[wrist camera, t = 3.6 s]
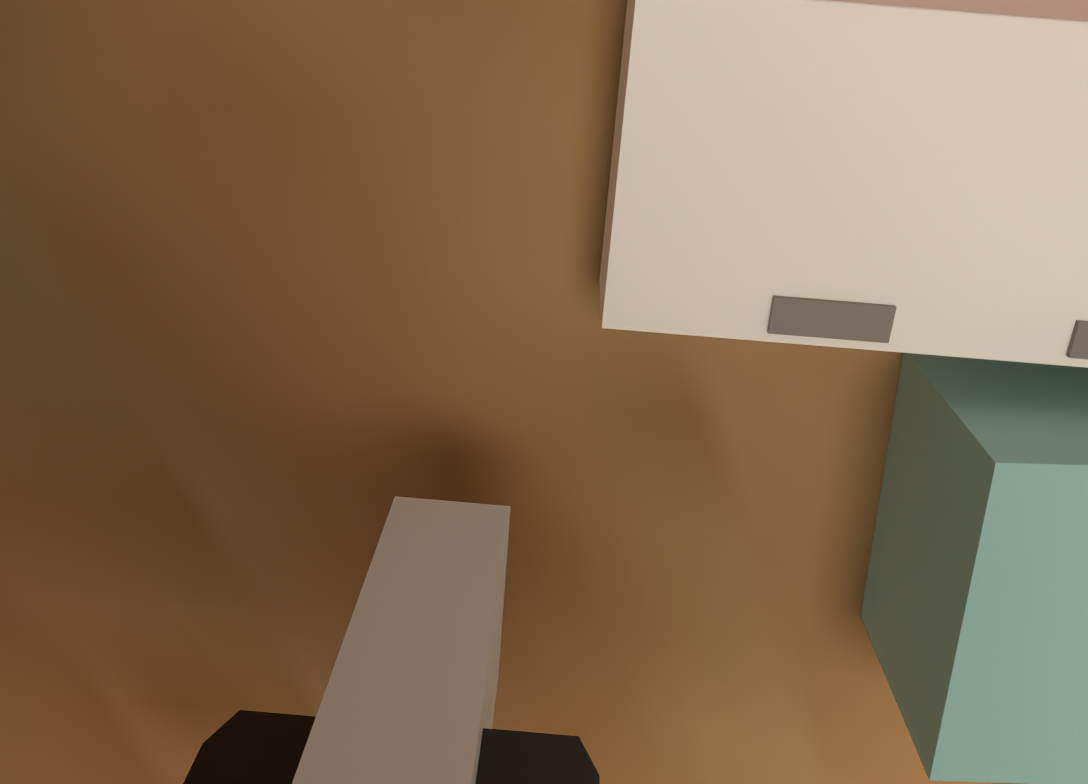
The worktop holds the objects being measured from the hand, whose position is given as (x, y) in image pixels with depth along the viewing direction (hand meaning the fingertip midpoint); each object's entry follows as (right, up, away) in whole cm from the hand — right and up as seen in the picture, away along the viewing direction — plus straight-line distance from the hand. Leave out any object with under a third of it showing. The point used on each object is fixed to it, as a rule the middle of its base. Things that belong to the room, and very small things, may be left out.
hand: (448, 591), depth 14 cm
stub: (+10, +1, +3) cm, 10 cm away
